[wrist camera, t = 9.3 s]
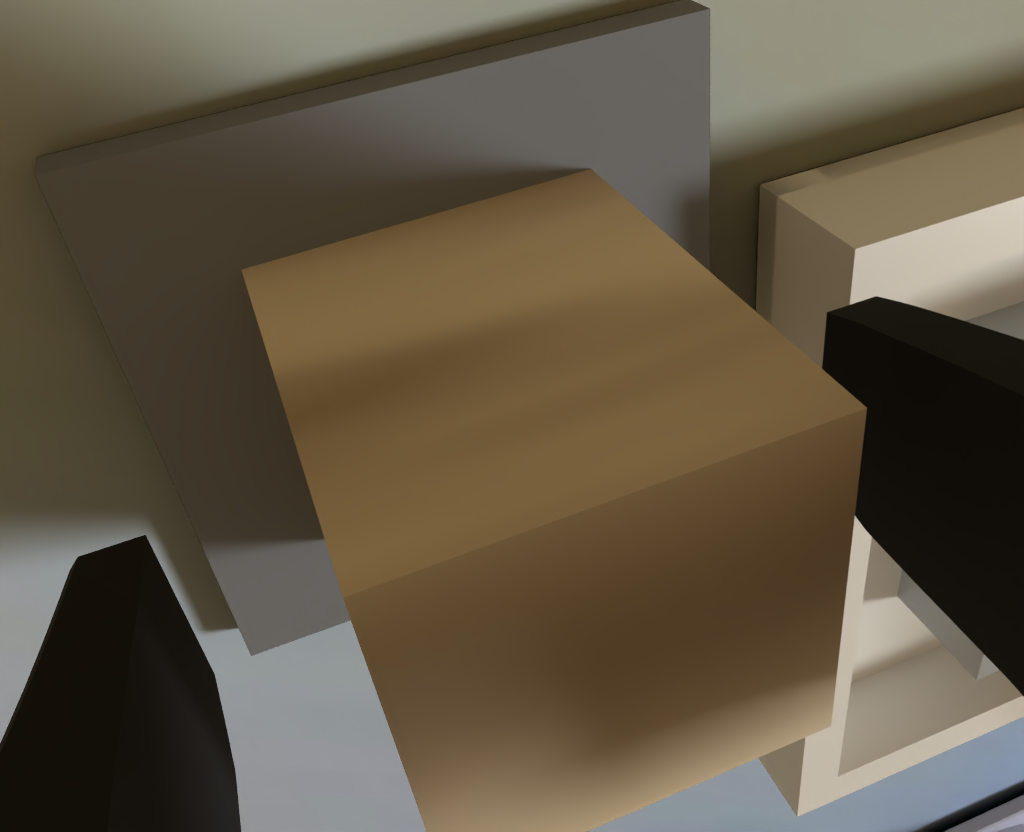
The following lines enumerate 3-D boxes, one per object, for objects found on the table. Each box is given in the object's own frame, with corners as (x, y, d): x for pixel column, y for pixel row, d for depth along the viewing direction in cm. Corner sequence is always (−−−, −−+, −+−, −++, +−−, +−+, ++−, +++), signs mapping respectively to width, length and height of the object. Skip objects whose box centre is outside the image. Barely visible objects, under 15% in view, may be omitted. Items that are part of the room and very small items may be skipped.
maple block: (615, 440, 14) (830, 725, 10) (334, 538, 13) (449, 890, 9) (591, 168, 11) (865, 407, 7) (241, 270, 10) (342, 597, 6)
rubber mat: (693, 471, 15) (709, 491, 15) (246, 629, 14) (251, 655, 13) (687, -1, 11) (709, 8, 10) (37, 157, 9) (35, 176, 9)
